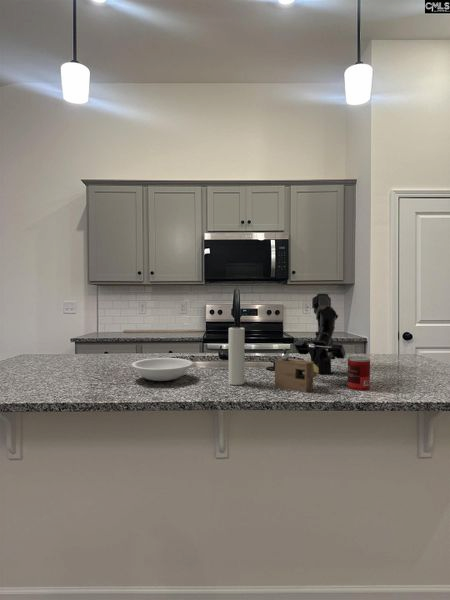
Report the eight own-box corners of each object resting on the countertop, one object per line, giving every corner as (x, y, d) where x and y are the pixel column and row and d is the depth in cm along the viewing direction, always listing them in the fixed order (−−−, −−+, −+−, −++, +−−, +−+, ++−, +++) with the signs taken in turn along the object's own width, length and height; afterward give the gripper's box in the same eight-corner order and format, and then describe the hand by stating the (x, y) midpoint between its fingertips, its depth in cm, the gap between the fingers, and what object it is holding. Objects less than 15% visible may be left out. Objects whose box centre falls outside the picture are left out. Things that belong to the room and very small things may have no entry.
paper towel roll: (239, 386, 143) (239, 328, 142) (225, 384, 146) (225, 327, 146) (248, 382, 149) (248, 327, 149) (235, 380, 152) (235, 326, 152)
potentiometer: (280, 359, 142) (280, 348, 142) (286, 359, 143) (286, 348, 143) (283, 360, 140) (283, 349, 140) (289, 360, 141) (289, 349, 141)
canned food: (369, 386, 144) (369, 356, 144) (370, 391, 137) (370, 360, 136) (347, 384, 147) (348, 355, 146) (347, 389, 139) (347, 359, 139)
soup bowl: (205, 379, 154) (205, 362, 154) (156, 390, 137) (156, 372, 136) (167, 370, 171) (167, 355, 170) (119, 379, 153) (119, 363, 153)
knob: (304, 376, 146) (304, 361, 146) (318, 378, 142) (318, 363, 142) (295, 379, 140) (296, 364, 140) (310, 382, 136) (310, 366, 136)
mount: (283, 383, 148) (283, 357, 147) (314, 388, 140) (314, 361, 140) (274, 387, 142) (275, 360, 142) (305, 392, 135) (306, 364, 134)
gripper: (352, 349, 152) (342, 383, 143) (308, 345, 163) (296, 376, 154) (346, 331, 145) (335, 365, 137) (300, 328, 156) (287, 359, 148)
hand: (312, 367), depth 144 cm, fingers closed, pressing on knob
